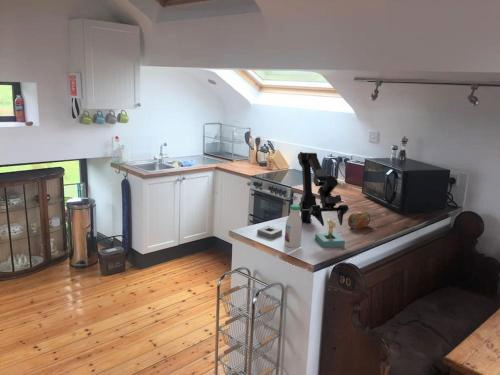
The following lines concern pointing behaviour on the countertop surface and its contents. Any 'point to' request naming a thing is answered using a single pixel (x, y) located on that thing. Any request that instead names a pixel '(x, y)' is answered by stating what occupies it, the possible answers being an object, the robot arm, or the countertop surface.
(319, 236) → the teal square socket block
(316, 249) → the countertop surface
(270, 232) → the charcoal socket block
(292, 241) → the milk bottle
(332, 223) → the brass T-key
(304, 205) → the robot arm
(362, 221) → the tin
